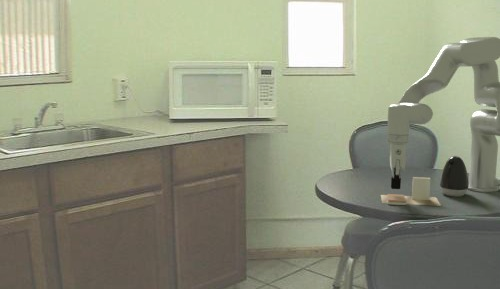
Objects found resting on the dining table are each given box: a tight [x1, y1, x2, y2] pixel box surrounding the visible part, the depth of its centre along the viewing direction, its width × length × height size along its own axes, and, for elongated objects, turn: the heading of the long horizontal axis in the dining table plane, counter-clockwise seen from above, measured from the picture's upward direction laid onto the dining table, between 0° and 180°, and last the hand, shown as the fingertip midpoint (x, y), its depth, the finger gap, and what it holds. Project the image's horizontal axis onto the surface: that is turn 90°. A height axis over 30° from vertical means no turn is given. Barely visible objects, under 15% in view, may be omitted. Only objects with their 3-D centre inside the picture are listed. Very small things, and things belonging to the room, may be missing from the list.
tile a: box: [411, 176, 432, 200], centre depth 184 cm, size 6×2×8 cm, turn 78°
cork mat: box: [380, 194, 442, 207], centre depth 183 cm, size 20×11×1 cm, turn 78°
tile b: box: [386, 193, 407, 206], centre depth 181 cm, size 6×2×8 cm
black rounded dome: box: [438, 155, 469, 198], centre depth 190 cm, size 10×10×15 cm
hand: (395, 188), depth 184 cm, fingers closed
